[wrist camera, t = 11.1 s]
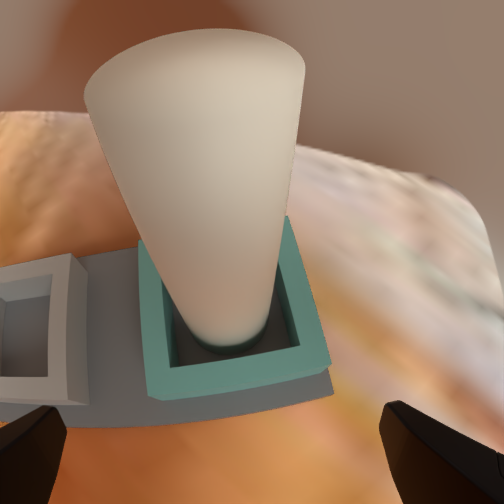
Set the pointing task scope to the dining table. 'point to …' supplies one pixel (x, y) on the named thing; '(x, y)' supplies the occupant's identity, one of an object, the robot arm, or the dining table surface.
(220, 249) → the peg
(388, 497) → the dining table surface
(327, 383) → the socket board
